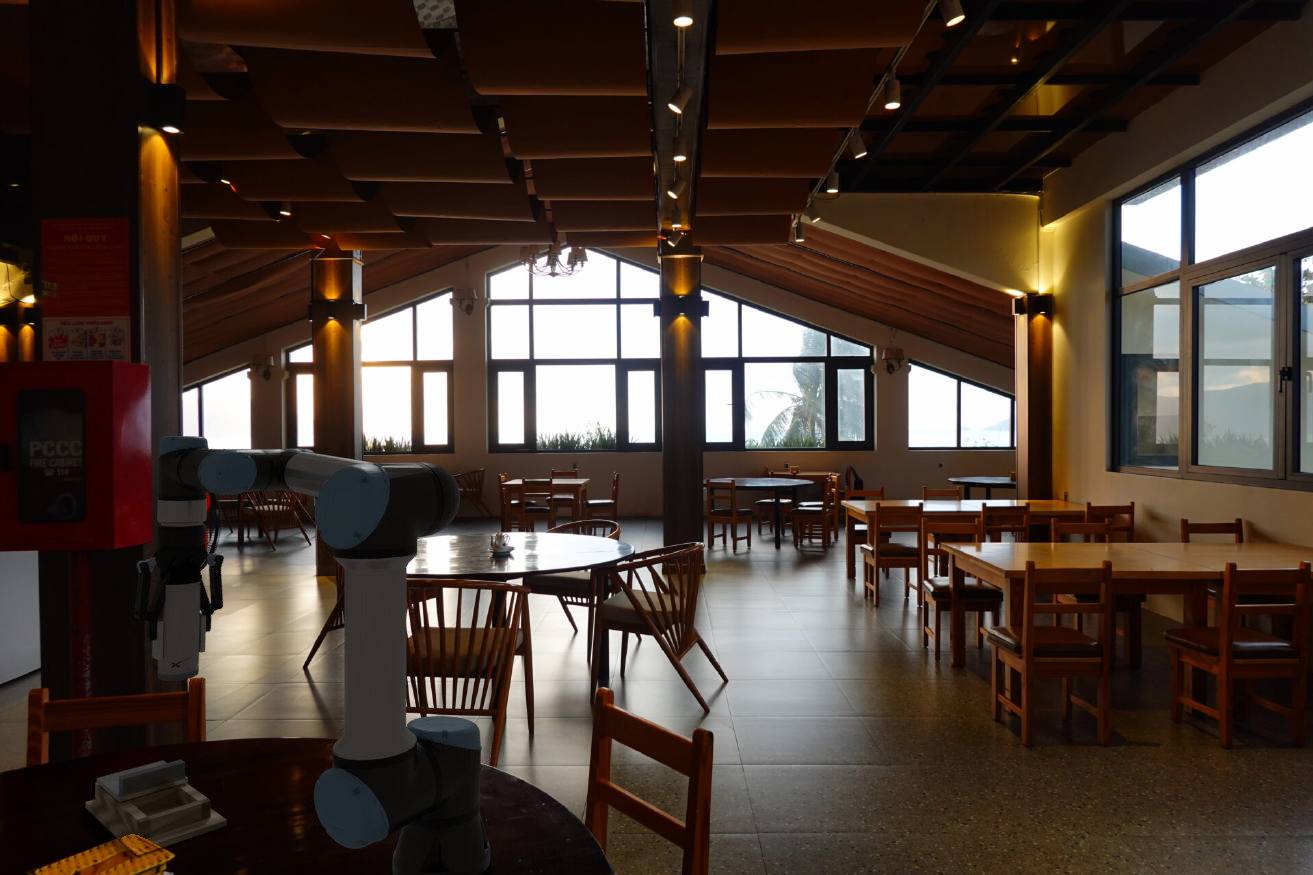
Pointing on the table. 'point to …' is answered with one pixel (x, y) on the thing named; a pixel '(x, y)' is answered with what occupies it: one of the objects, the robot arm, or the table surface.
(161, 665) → the travel mug
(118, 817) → the holder
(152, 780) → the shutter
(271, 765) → the table surface
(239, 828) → the table surface
